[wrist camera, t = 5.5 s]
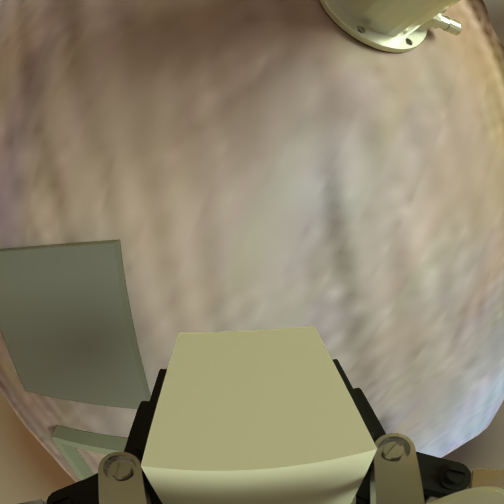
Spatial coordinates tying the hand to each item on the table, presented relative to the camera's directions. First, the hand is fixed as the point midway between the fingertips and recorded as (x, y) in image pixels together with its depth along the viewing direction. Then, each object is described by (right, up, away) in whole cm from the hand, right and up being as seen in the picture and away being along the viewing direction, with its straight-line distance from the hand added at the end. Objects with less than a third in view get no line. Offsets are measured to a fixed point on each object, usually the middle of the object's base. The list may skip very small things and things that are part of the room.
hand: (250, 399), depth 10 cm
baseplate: (-20, -3, +15) cm, 26 cm away
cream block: (0, 0, +1) cm, 1 cm away
